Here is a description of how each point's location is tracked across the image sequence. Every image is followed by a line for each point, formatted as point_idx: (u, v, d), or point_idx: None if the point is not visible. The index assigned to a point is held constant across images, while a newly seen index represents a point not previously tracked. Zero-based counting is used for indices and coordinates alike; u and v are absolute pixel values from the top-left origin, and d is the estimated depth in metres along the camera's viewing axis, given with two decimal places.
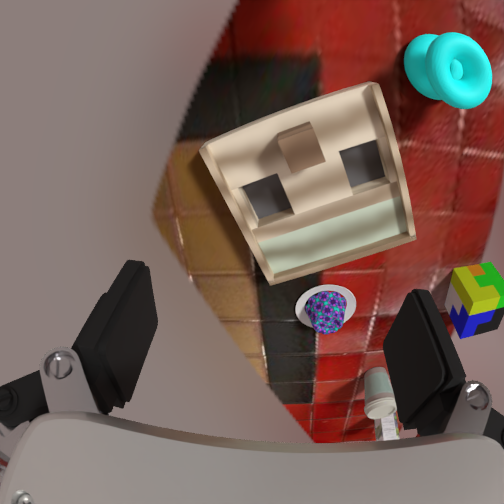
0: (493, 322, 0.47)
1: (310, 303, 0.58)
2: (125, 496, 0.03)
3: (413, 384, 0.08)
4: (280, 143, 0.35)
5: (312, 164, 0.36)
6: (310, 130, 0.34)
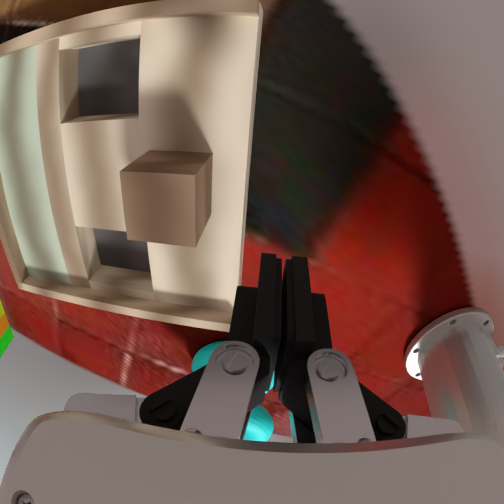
0: None
1: None
2: (125, 496, 0.03)
3: (279, 350, 0.09)
4: (187, 178, 0.16)
5: (127, 215, 0.18)
6: (192, 241, 0.18)
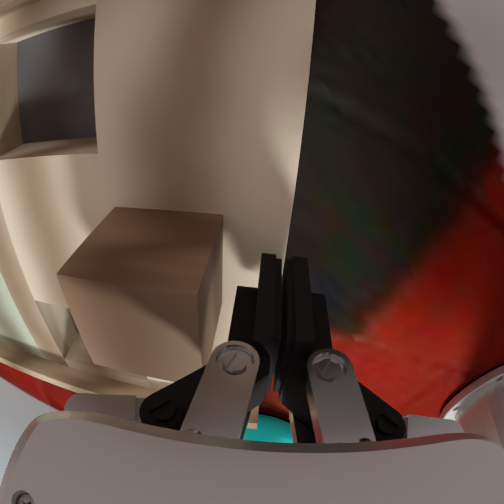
0: None
1: None
2: (125, 496, 0.03)
3: (279, 350, 0.09)
4: (182, 299, 0.08)
5: (86, 337, 0.10)
6: None
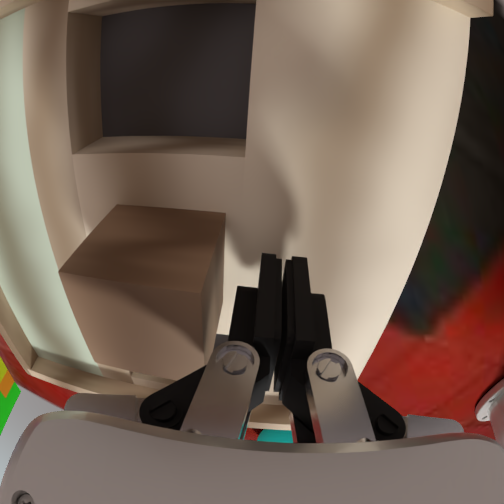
0: None
1: None
2: (125, 496, 0.03)
3: (279, 350, 0.09)
4: (185, 297, 0.08)
5: (87, 335, 0.10)
6: None
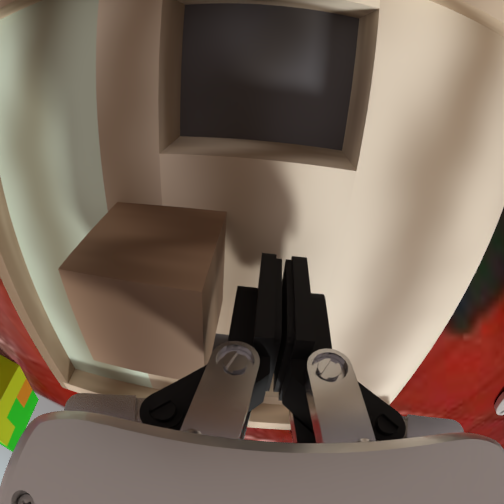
0: None
1: None
2: (125, 496, 0.03)
3: (279, 350, 0.09)
4: (186, 295, 0.08)
5: (86, 333, 0.10)
6: None
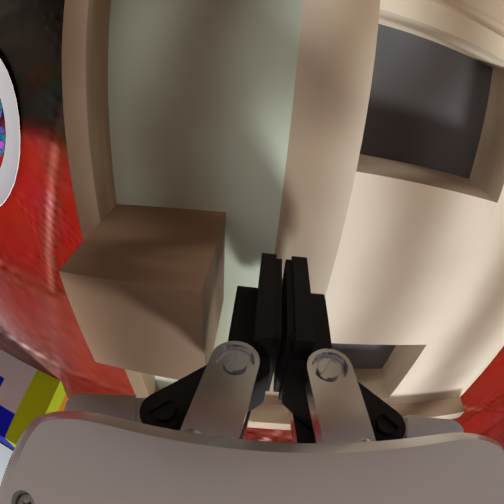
0: (2, 442, 0.23)
1: None
2: (125, 496, 0.03)
3: (279, 350, 0.09)
4: (186, 296, 0.08)
5: (88, 335, 0.10)
6: None
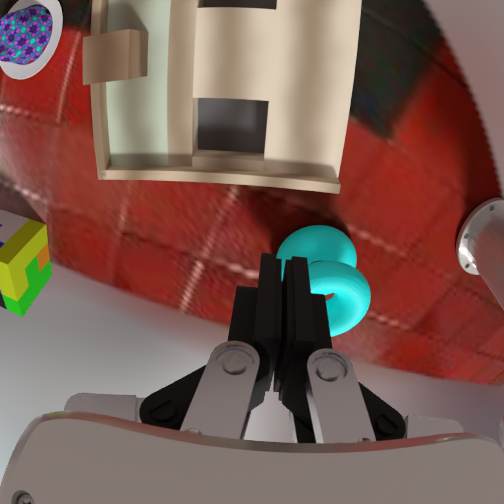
0: None
1: (44, 17, 0.21)
2: (125, 496, 0.03)
3: (279, 350, 0.09)
4: (124, 31, 0.19)
5: (84, 66, 0.20)
6: (126, 75, 0.21)
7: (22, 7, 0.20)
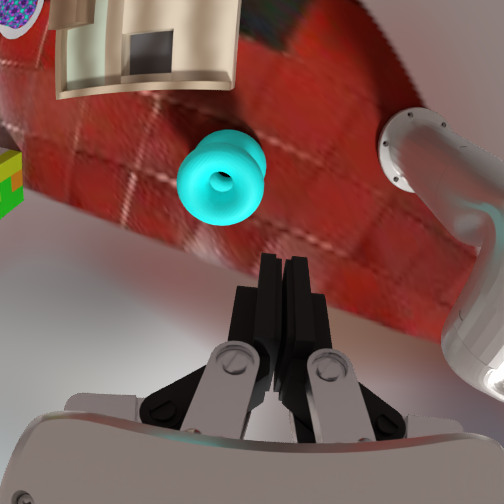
0: None
1: None
2: (125, 496, 0.03)
3: (279, 350, 0.09)
4: None
5: (50, 17, 0.23)
6: (74, 19, 0.24)
7: None
